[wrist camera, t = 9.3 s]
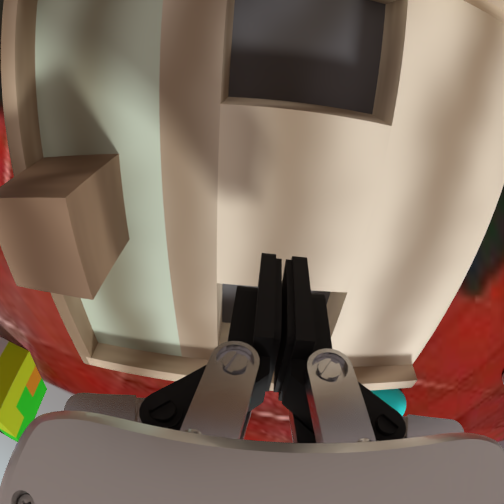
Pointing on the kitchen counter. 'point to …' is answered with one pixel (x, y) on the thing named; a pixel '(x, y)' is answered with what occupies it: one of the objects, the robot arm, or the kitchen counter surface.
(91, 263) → the walnut block
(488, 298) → the kitchen counter surface
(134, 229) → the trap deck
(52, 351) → the kitchen counter surface
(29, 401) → the puzzle toy
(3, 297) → the kitchen counter surface
